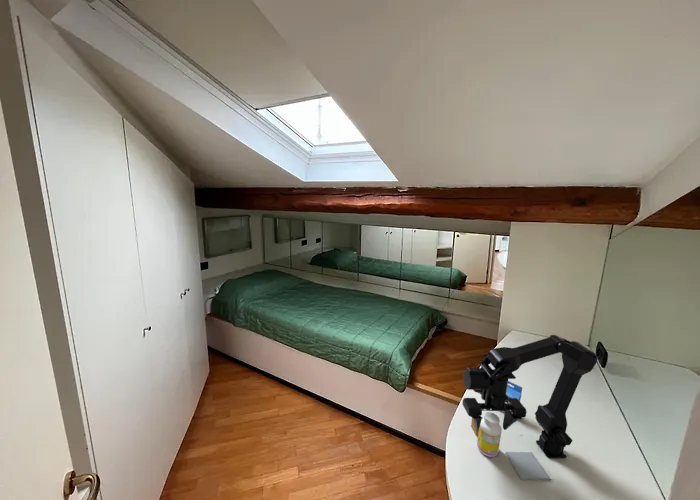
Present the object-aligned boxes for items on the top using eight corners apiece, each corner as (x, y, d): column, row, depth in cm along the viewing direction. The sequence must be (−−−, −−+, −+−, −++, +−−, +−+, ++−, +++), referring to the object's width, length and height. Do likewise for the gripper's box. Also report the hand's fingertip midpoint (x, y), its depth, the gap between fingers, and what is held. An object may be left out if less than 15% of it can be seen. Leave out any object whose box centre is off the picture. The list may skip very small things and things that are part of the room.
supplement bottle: (479, 437, 103) (484, 406, 101) (500, 448, 99) (505, 416, 97) (474, 450, 98) (478, 417, 96) (495, 462, 94) (500, 428, 91)
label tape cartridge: (491, 406, 118) (495, 380, 116) (495, 402, 121) (499, 376, 118) (514, 419, 112) (519, 391, 109) (518, 414, 115) (522, 387, 112)
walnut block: (481, 426, 108) (482, 417, 108) (486, 435, 104) (487, 426, 104) (470, 426, 108) (472, 417, 107) (475, 435, 104) (476, 426, 104)
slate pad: (531, 453, 98) (532, 452, 97) (550, 479, 89) (550, 478, 89) (505, 453, 97) (505, 451, 97) (521, 479, 89) (521, 478, 88)
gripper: (511, 372, 102) (505, 411, 105) (458, 372, 101) (454, 410, 105) (530, 394, 91) (523, 436, 94) (472, 394, 91) (466, 436, 94)
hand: (490, 428), depth 97 cm, fingers open, 9 cm apart
